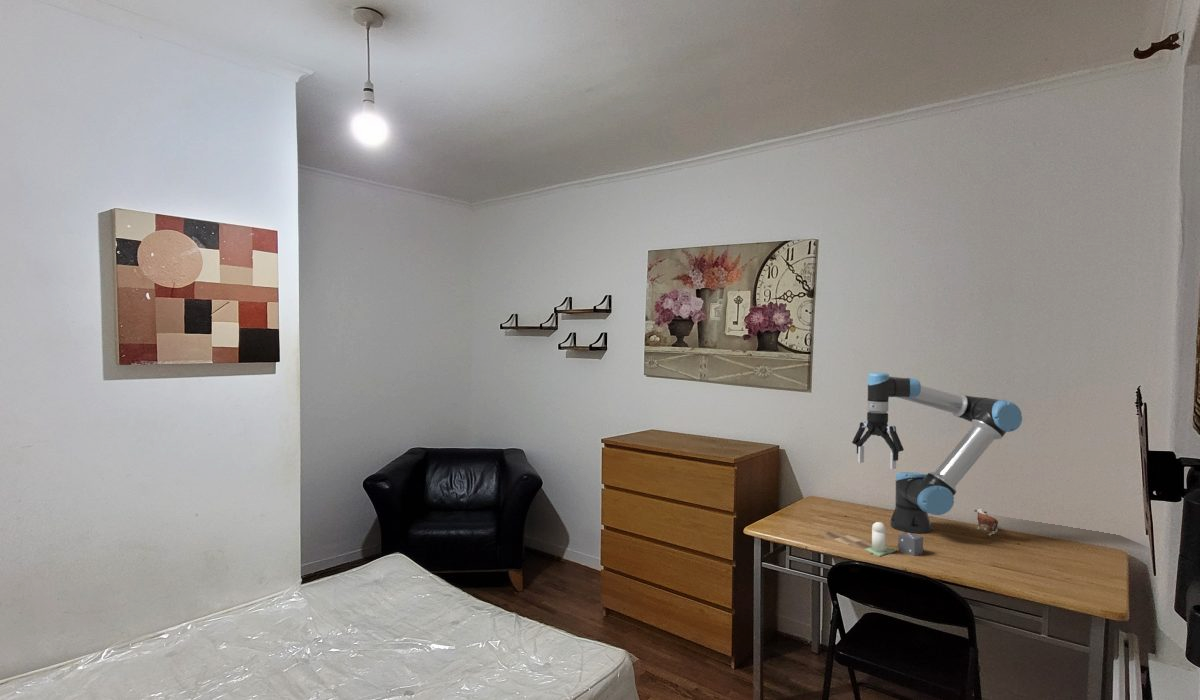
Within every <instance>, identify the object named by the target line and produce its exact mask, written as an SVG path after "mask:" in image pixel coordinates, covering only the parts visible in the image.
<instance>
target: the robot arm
mask: <svg viewBox="0 0 1200 700" xmlns="http://www.w3.org/2000/svg"><path fill="white" fill-rule="evenodd" d="M867 376H868V377H867V405H866V406H867V407H866V409H867V411H868V412H866V413H867V414H866V421H867V422H866V421H861V422H860V423H859V426H858V427H859V428H858V430H857V432H856V434H855V435H854V437H853V439H852V442H851V443H852V445H855V446H856V455H857V454H858V455H857V458H858V459H857V463H858V464H861V463H862V464H863V463H864V462H865V446H864V444H865V443H866V442H867V441H868V439H869V438H870V437H871V436H877V437H881V438H882V439H884V441H885V443H886V444H887V445H888V447H889V448H890V450H891V451H890V458H889V459H890V464H889V467H890V468H889V469H890V470H895V469H897V461H899V452H903V451H904V447H903V445H902V442H901V440H900V438H899V435H898V432H897V428H896V425H888V422H889V413H888V412H889V398H898V399H902V400H905V401H909V402H912V403H916V404H919V405H923V406H926V407H930V408H934V409H936V410H941V411H945V412H948V413H952V415H953V416H954V417H957V418H960V419H963V420H965V421H968V422H970V423H972V427H970V429H969V430H968V431H967V433H966V434H965V435H964V436H963V437H962V439H961V440H960V441H959V442H958V443H957V444H956V446H955V447H954V448H953V449H952V451H951V452H950V453H949V454H948V455H947V457H945V459H944V461H943V462H941V464H940V465H939V467H937V469H936V470H935V471H934V472H933V471H932V472H931V471H930V472H928V473H927V474H926V473H923V472H902V471H901V472H898V473H896V476H895V504H894V505H895V507H894V510H893V513H892V516H891V518H890V524H889V525H890V527H892V528H894V529H896V530H899V531H902V532H905V533H907V532H908V533H911V534H914V533H915V534H927V533H930V532H931V531H932V523H931V520H930V518H929V514H930V515H934V516H942V515H945V514H947V513H948V512H949V511H951V509H952V508H953V506H954V503H955V501H954V500H955V497H954V496H955V495H956V493H957V489H956V486H957V485H958V484H959V483H960V481H961V480H962V479H963V478H964V477H965V476H966V475H967V473H969V471H970V469H971V468H972V467H973V466H974V465H975V464H976V463H977V461H978V460H979V459H980V458H981V456H982V455H983V454H984V452H985V451H986V450H987V449H988V448H989V447H990V445H992V443H993V442H994V441H995V440H1001V439H1002V438H1003V437H1004V436H1005V435H1006V433H1010V432H1014V431H1016V430H1018V429H1019V428H1020V426H1021V425H1022V421H1023V415H1022V411H1021V409H1020V407H1019V406H1018V405H1017V404H1016V403H1014V402H1012V401H1008V400H1005V399H995V398H991V397H990V398H989V397H980V396H979V397H978V396H971V395H970V396H969V395H967V394H958V395H957V394H953V393H950V392H945V391H942V390H940V389H935V388H931V387H928V386H925V385H921V383H920V381H919V379H917V378H915V377H913V378H912V377H897V376H896V377H895V376H890V374H889V373H888V372H887V373H886V372H870V373H869V374H868V375H867ZM866 428H867V429H868V430H867V431H865V430H866ZM864 432H865V433H864Z"/></svg>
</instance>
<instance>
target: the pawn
mask: <svg viewBox="0 0 1200 700" xmlns="http://www.w3.org/2000/svg"><path fill="white" fill-rule="evenodd" d="M886 538H887V527H886V526H885V524H884V523H883V522H882V521H876V522H874V523H873V524H872V526H871V542H872V550H873V551H877V552H885V550H886V547H887V545H886V542H887V541H886V540H887V539H886Z"/></svg>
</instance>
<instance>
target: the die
mask: <svg viewBox="0 0 1200 700" xmlns="http://www.w3.org/2000/svg"><path fill="white" fill-rule="evenodd" d="M897 537H898V539H897V541H898V544H897V545H898V547H897V552H900V553H902V554H903V553H904V554H908V555H910V556H913V557H916V556H917V555H921V554H923V553H924V536H922V535H918V534H916V533H915V534H914V533H912V532H904V533H902V534H901V533H900V534H898V536H897Z"/></svg>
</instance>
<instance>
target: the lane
mask: <svg viewBox="0 0 1200 700" xmlns="http://www.w3.org/2000/svg"><path fill="white" fill-rule="evenodd" d="M818 536H821V537H824V538H827V539H830V540H832V541H836V542H839V543H842V544H845V545H848V546H851V547H854V548H857V549H859V550H862V551H866V552H869V553H870V554H871V555H874V556H877V557H883V556H887V555H889V554H893V553H895V552H896V549H894V548H891V547H887V546H886V550H885V552H877V551H873V550H872V541H869V540H865V539H862V538H859V537H856V536H852V535H850V534H847V533H843V532H839V531H836V530H832V531H828V532H824V533H821V534H818Z"/></svg>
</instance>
